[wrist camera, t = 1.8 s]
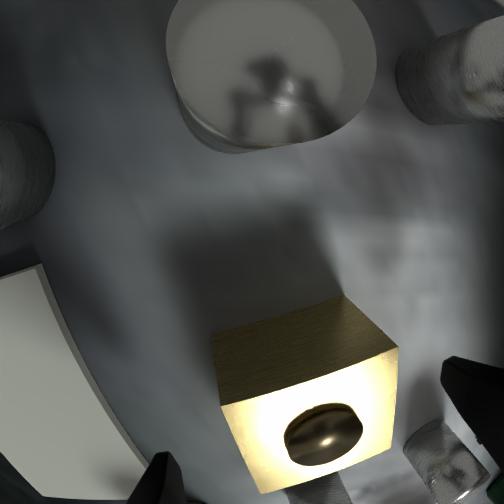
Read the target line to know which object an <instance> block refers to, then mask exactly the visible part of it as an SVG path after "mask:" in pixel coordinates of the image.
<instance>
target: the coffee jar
mask: <svg viewBox="0 0 504 504" xmlns="http://www.w3.org/2000/svg"><path fill="white" fill-rule="evenodd" d="M487 497H488V498H489V500H490V501H491V502H492V503H493V504H504V473H503V474H502V475H501V476H500V477H499V478H498V479H497V480H496V482H495V483H494V484H493V485H492V486H491V488H490V489H489V490H488V492H487Z"/></svg>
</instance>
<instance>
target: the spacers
mask: <svg viewBox="0 0 504 504" xmlns="http://www.w3.org/2000/svg"><path fill="white" fill-rule="evenodd" d="M166 54H167V60H168V64H169V67H170V71H171V74H172V78H173V82H174V85H175V89H176V92H177V96H178V99H179V103H180V107H181V110H182V114H183V117H184V120H185V122H186V125H187V127H188V128H189V130H190V131H191V133H192V134H193V135H194V136H195V138H197V139H198V140H199V141H200V142H201V143H203V144H204V145H205V146H207V147H209V148H211V149H213V150H216V151H219V152H223V153H230V154H241V153H247V152H252V151H257V150H263V149H268V148H273V147H279V146H285V145H290V144H296V143H302V142H307V141H311V140H315V139H318V138H321V137H324V136H326V135H329V134H331V133H333V132H334V131H336V130H338V129H340V128H341V127H343V126H344V125H345V124H347V123H348V122H349V121H350V120H351V119H352V118H353V117H354V116H355V115H356V114H357V113H358V112H359V111H360V110H361V108H362V107H363V105H364V104H365V103H366V101H367V99H368V97H369V95H370V93H371V90H372V87H373V84H374V81H375V75H376V67H377V57H376V48H375V43H374V39H373V36H372V33H371V30H370V27H369V25H368V23H367V21H366V19H365V17H364V15H363V14H362V12H361V11H360V10H359V8H358V7H357V5H356V4H355V3H354V2H353V1H352V0H178V2H177V4H176V5H175V7H174V9H173V11H172V14H171V16H170V19H169V22H168V26H167V31H166ZM396 80H397V85H398V89H399V92H400V95H401V97H402V99H403V101H404V103H405V104H406V106H407V107H408V109H409V110H410V111H411V112H412V114H413V115H414V116H416V117H417V118H418V119H419V120H421V121H422V122H424V123H426V124H429V125H453V124H478V123H504V16H500V17H497V18H494V19H490V20H487V21H484V22H481V23H478V24H475V25H471V26H468V27H466V28H463V29H460V30H457V31H454V32H451V33H449V34H446V35H443V36H440V37H438V38H435V39H433V40H430V41H427V42H425V43H422V44H420V45H417V46H415V47H412V48H410V49H408V50H406V51H405V52H404V53H403V54H402V55H401V56H400V58H399V60H398V63H397V68H396ZM54 179H55V158H54V153H53V149H52V147H51V144H50V142H49V141H48V139H47V138H46V136H45V135H44V134H43V133H42V132H41V131H40V130H39V129H37V128H35V127H33V126H31V125H27V124H21V123H15V122H9V121H2V120H0V229H3V228H5V227H7V226H10V225H12V224H14V223H17V222H19V221H22V220H24V219H27V218H29V217H31V216H33V215H34V214H35V213H37V212H38V211H39V210H40V209H41V208H42V207H43V205H44V204H45V203H46V201H47V199H48V197H49V195H50V193H51V190H52V188H53V184H54ZM403 452H404V454H405V456H406V457H407V459H408V460H409V462H410V463H411V465H412V466H413V467H414V469H415V470H416V472H417V473H418V475H419V476H420V478H421V479H422V480H423V482H424V483H425V485H426V486H427V488H428V489H429V491H430V492H431V493H432V495H433V496H434V498H435V499H436V501H437V502H438V504H462V503H464V502H465V501H467V500H468V499H469V498H470V497H472V496H473V495H474V494H475V493H476V492H477V491H478V490H479V489H480V488H481V487H482V486H483V485H484V484H485V483H486V482H487V480H488V479H489V477H490V473H489V472H488V471H487V470H486V469H485V467H484V466H483V465H482V464H481V463H480V462H479V461H478V459H477V458H476V457H475V456H474V455H473V454H472V452H471V451H470V450H469V449H468V448H467V447H466V446H465V444H464V443H463V442H462V441H461V440H460V439H459V438H458V437H457V435H456V434H455V433H454V432H453V431H452V430H451V429H450V428H449V426H448V425H447V424H446V423H445V422H444V421H443V420H435V421H432V422H430V423H428V424H427V425H425V426H424V427H422V428H421V429H419V430H418V431H417V432H416V433H415V434H414V435H413V436H412V437H411V438H410V439H409V440H408V442H407V443H406V445H405V447H404V450H403ZM287 497H288V500H289V503H290V504H353V503H352V501H351V499H350V497H349V495H348V493H347V491H346V489H345V487H344V484H343V482H342V480H341V478H340V476H339V474H338V473H336V472H332V473H330V474H327V475H324V476H321V477H318V478H315V479H312V480H309V481H306V482H303V483H300V484H296V485H293V486H290V487H289V488H288V489H287ZM187 504H203V503H197V502H187Z"/></svg>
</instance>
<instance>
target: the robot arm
mask: <svg viewBox="0 0 504 504" xmlns="http://www.w3.org/2000/svg"><path fill="white" fill-rule="evenodd" d="M440 381H441V384H442V386H443V388H444V389H445V391H446V393H447V394H448V396H449V397H450V399H451V401H452V402H453V404H454V406H455V407H456V409H457V411H458V412H459V414H460V415H461V417H462V418H463V419H464V421H465V422H466V423H467V425H468V426H469V427H470V429H471V430H472V431H473V433H474V434H475V435H476V437H477V442H478V443H479V444H480V445H481V444H482V445H483V446H484V447H485V449H486V450H487V451H488V453H489V454H490V455H491V457H492V458H493V459H494V461H495V462H496V464H497V465H498V466H499V468H500V469H501V471H502V472H503V473H504V369H502V368H498V367H494V366H490V365H487V364H483V363H479V362H475V361H471V360H468V359H464V358H460V357H457V356H451V357H450V358H448V359H446V360H444V362H443V364H442V370H441V376H440ZM125 504H187V502H186V496H185V491H184V485H183V479H182V473H181V469H180V466H179V465H178V463H177V462H176V460H175V459H174V457H173V456H172V454H171V453H170V452H168V451H166V452H158V453H156V454H155V455H154V457H153V459H152V460H151V462H150V464H149V465H148V467H147V469H146V470H145V472H144V474H143V475H142V477H141V478H140V480H139V482H138V483H137V485H136V487H135V488H134V490H133V492H132V493H131V495H130V496H129V498H128V500H127V501H126V503H125Z"/></svg>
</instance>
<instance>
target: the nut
mask: <svg viewBox="0 0 504 504" xmlns="http://www.w3.org/2000/svg"><path fill="white" fill-rule="evenodd" d="M211 335H212V344H213V352H214V360H215V368H216V375H217V383H218V390H219V398H220V405H221V408H222V411H223V413H224V415H225V418H226V420H227V422H228V425H229V427H230V429H231V431H232V434H233V436H234V438H235V440H236V443H237V445H238V447H239V449H240V452H241V454H242V456H243V458H244V460H245V462H246V464H247V467H248V469H249V471H250V473H251V475H252V477H253V479H254V481H255V483H256V485H257V487H258V489H259V491H260V493H261V494H263V493H267V492H271V491H275V490H279V489H282V488H286V487H290V486H293V485H296V484H300V483H303V482H306V481H309V480H312V479H315V478H318V477H321V476H324V475H327V474H330V473H332V472H335V471H338V470H340V469H343V468H346V467H348V466H351V465H353V464H356V463H358V462H360V461H363V460H365V459H368V458H370V457H372V456H374V455H377V454H379V453H381V452H383V451H385V450H388V449H390V448H391V442H392V433H393V424H394V415H395V403H396V390H397V373H398V346H397V345H396V344H395V343H394V342H393V341H392V340H391V339H390V338H389V337H388V336H387V335H386V334H385V333H384V332H383V331H382V330H381V329H380V328H379V327H378V326H376V325H375V324H374V323H373V322H372V321H371V320H370V319H369V318H368V317H367V316H366V315H365V314H364V313H363V312H362V311H361V310H360V309H359V308H357V307H356V306H355V305H354V304H353V303H352V302H351V301H350V300H349V299H348V298H347V297H346V296H345V295H344V296H341V297H338V298H335V299H332V300H329V301H325V302H322V303H319V304H316V305H313V306H310V307H306V308H303V309H300V310H297V311H293V312H290V313H287V314H283V315H280V316H277V317H273V318H270V319H266V320H263V321H259V322H256V323H252V324H249V325H245V326H241V327H238V328H234V329H230V330H227V331H223V332H219V333H215V334H211Z"/></svg>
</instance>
